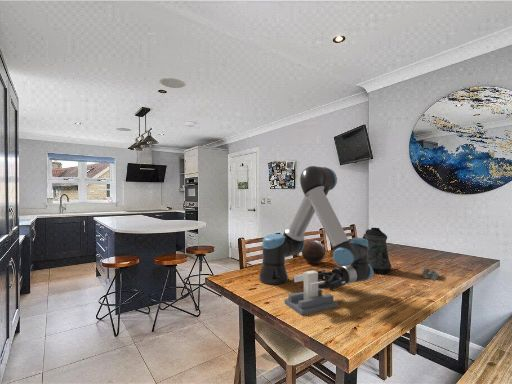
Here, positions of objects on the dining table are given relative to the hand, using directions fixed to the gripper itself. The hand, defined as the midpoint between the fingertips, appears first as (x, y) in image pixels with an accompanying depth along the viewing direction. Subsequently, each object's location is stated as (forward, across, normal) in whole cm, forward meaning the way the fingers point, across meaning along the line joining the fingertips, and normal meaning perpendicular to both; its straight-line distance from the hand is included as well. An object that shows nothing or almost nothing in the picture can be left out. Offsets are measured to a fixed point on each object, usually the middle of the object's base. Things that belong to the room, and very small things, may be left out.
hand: (302, 282), depth 108 cm
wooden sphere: (-46, +52, -10) cm, 70 cm away
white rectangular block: (-4, 0, -8) cm, 9 cm away
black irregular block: (-70, +24, -10) cm, 75 cm away
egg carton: (-87, +1, -10) cm, 88 cm away
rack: (-4, 0, -10) cm, 11 cm away
